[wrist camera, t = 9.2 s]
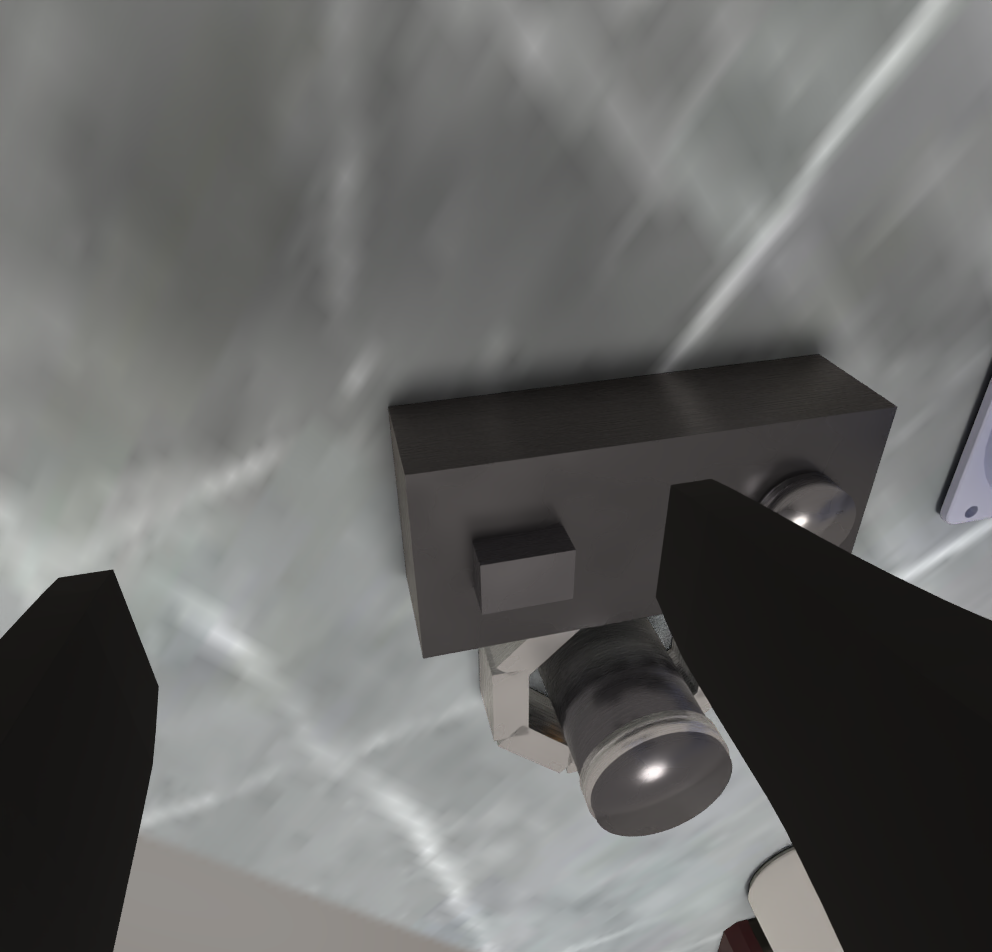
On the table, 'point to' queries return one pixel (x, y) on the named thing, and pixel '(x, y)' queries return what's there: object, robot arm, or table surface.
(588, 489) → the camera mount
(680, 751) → the lens
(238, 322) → the table surface
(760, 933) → the toy gun
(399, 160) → the table surface
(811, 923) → the can
